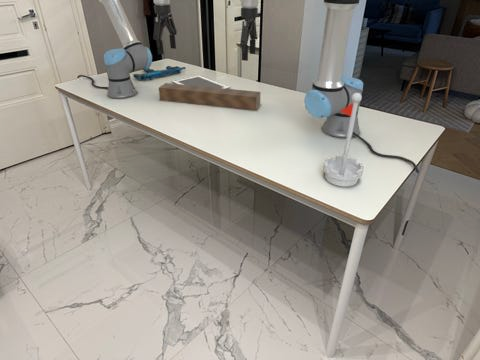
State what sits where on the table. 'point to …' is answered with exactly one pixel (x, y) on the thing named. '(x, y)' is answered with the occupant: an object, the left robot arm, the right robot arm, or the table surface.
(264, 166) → the table surface
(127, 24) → the left robot arm
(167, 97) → the slab
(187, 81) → the tablet
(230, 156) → the table surface
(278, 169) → the table surface
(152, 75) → the submachine gun
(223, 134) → the table surface
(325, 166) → the flag stand
